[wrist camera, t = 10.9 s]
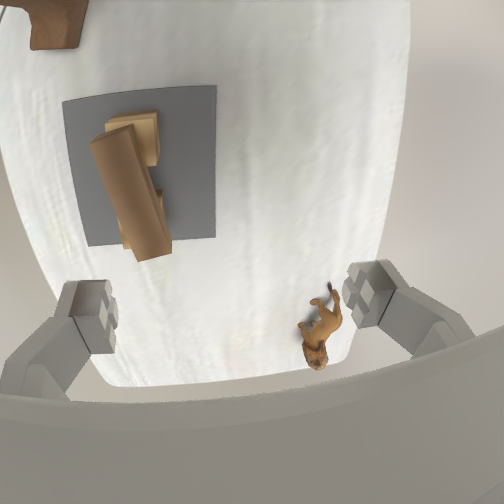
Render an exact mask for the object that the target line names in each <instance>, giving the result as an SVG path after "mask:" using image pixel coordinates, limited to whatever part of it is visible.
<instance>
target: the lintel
mask: <svg viewBox="0 0 504 504" xmlns="http://www.w3.org/2000/svg"><path fill="white" fill-rule="evenodd" d="M89 146H90V149H91V152H92V154H93V157H94V160H95V163H96V165H97V168H98V171H99V173H100V176H101V178H102V181H103V183H104V186H105V188H106V191H107V193H108V196H109V198H110V201H111V203H112V206H113V208H114V210H115V213H116V215H117V217H118V220H119V222H120V224H121V227H122V229H123V231H124V233H125V236H126V238H127V240H128V242H129V244H130V246H131V249H132V251H133V253H134V255H135V257H136V259H137V261H138V262H140V261H144V260H148V259H152V258H155V257H159V256H163V255H167V254H171V253H172V236H171V234H170V231H169V228H168V225H167V223H166V220H165V217H164V214H163V212H162V209H161V206H160V203H159V200H158V197H157V195H156V192H155V189H154V186H153V183H152V180H151V177H150V174H149V171H148V168H147V165H146V162H145V159H144V156H143V153H142V149H141V146H140V143H139V140H138V137H137V133H136V130H135V127H134V124H133V123H132V124H129V125H126V126H123V127H120V128H117V129H115V130H112V131H109V132H106V133H103V134H101V135H98V136H96V137H95V139H94V140H93V141H92V142H91V143H90V144H89Z"/></svg>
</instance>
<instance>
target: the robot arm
mask: <svg viewBox="0 0 504 504" xmlns="http://www.w3.org/2000/svg"><path fill="white" fill-rule="evenodd" d="M347 272H348V274H349V277H348V278H347V279H346V280H345V281H344V283H343V287H342V296H343V300H344V303H345V305H346V306H347V307H348V308H350V309H351V310H352V314H351V316H352V318H353V320H354V322H355V323H356V325H357V327H358V328H359V329H360V328H366V327H373V326H378V327H379V328H380V329H381V330H383V331H384V332H385V333H387V334H388V335H389V336H390V337H391V338H392V339H394V340H395V341H396V342H397V343H398V344H400V345H401V346H402V347H403V348H405V349H406V350H407V351H408V352H410V353H411V354H412V355H413V356H412V358H411V359H410V360H408V361H405V362H401V363H398V364H394V365H391V366H387V367H384V368H380V369H376V370H372V371H369V372H365V373H361V374H357V375H352V376H348V377H344V378H340V379H335V380H330V381H326V382H321V383H316V384H311V385H306V386H300V387H295V388H289V389H283V390H277V391H271V392H264V393H256V394H249V395H241V396H232V397H223V398H213V399H201V400H188V401H170V402H142V403H141V402H139V403H138V402H135V403H115V402H114V403H113V402H82V401H70V399H69V398H68V397H67V396H66V395H65V392H66V391H67V389H68V388H69V386H70V385H71V383H72V382H73V380H74V379H75V377H76V376H77V375H78V373H79V372H80V370H81V369H82V368H83V366H84V365H85V363H86V362H87V360H88V359H89V358H90V356H91V355H90V354H112V353H115V344H116V335H115V332H114V330H115V329H116V328H117V326H118V308H117V303H116V300H115V298H114V297H112V296H111V293H112V286H111V283H110V281H109V280H80V281H67V282H65V284H64V286H63V289H62V292H61V295H60V298H59V301H58V304H57V307H56V311H55V314H54V317H49V318H48V319H47V320H46V321H45V322H44V323H43V324H42V325H41V326H40V327H39V328H38V329H37V330H36V331H35V332H34V333H33V334H32V335H31V336H30V337H29V338H28V339H27V340H25V341H24V342H23V344H21V345H20V346H19V348H17V349H16V351H14V353H12V355H11V356H10V357H9V358H8V359H7V360H6V361H5V364H4V368H3V371H2V375H1V378H0V504H504V325H503V326H501V327H498V328H496V329H494V330H491V331H489V332H487V333H484V334H482V335H479V336H477V337H476V336H475V335H474V333H473V332H472V330H471V329H470V327H469V326H468V325H467V323H466V322H465V321H464V319H463V318H462V316H461V315H460V314H458V313H457V312H455V311H453V310H452V309H450V308H448V307H446V306H445V305H443V304H442V303H440V302H438V301H437V300H435V299H433V298H431V297H430V296H428V295H426V294H425V293H422V292H421V291H419V290H418V289H416V288H414V287H409V286H408V284H407V283H406V281H405V280H404V279H403V277H402V276H401V275H400V273H399V272H398V271H397V269H396V268H395V267H394V265H393V264H392V263H391V262H390V261H389V260H388V259H383V260H375V261H366V262H355V263H351V264H350V266H349V268H348V271H347Z"/></svg>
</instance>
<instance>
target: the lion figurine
mask: <svg viewBox="0 0 504 504" xmlns="http://www.w3.org/2000/svg"><path fill="white" fill-rule="evenodd" d="M328 289H329V291H330V293H331V296H332V297H333V299H334V302H335V304H334V308H333V312H331V311H330V310H328V309H327V308H326V307H325V306H324V304H323V302H322V301H319V300H316V299H313V300H312V301H311V302H310V303H311V305H316V304H317V305H318V307H319V313H320V317H321V319H322V320H320V321H318V322H316V321H313V322H312V323H311V326H312V329H311V332H308V331H307V329H306V326H305V324H304V323H299V324H298V327H299V328H301V330H302V335H303V337H304V341H303V344H302V346H303V352H304V356H305V358H306V361H307V363H308V366H310V367H311V368H313V369H315V370H321V369H323V368H325V366H326V364H327V363H328V356H327V352H326V347H325V342H326V340H327V339H328V337H329V336H330V334H331V333H333V332H334V331H336V330H337V329H338V328H339V327H340V326H341V323H342V314H341V310H340V306H339V302H340V297H339V295H338V292H337V291H336V290H334V291H333V290H332V286H331V283H329V285H328Z"/></svg>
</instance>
